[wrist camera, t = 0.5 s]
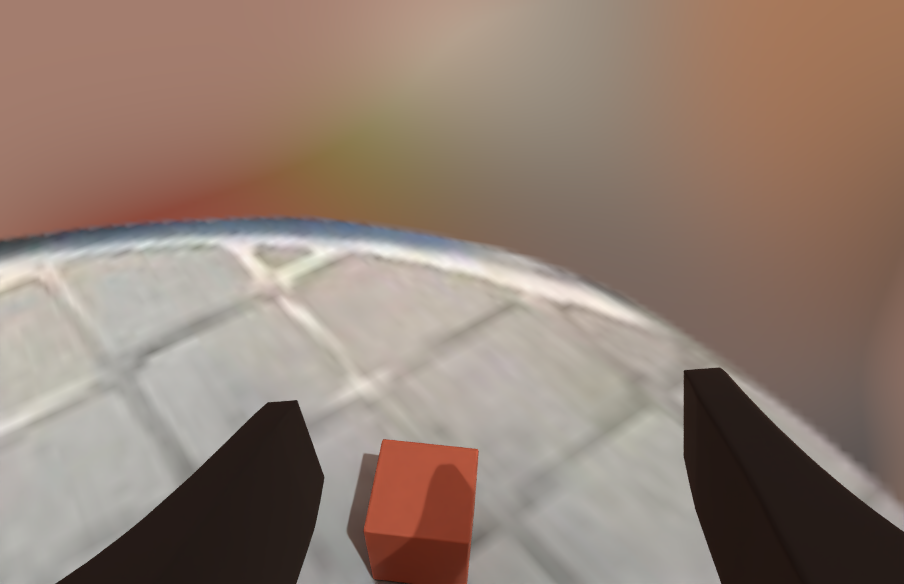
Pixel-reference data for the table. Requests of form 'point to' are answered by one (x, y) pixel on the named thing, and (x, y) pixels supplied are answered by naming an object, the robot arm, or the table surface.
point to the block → (421, 513)
